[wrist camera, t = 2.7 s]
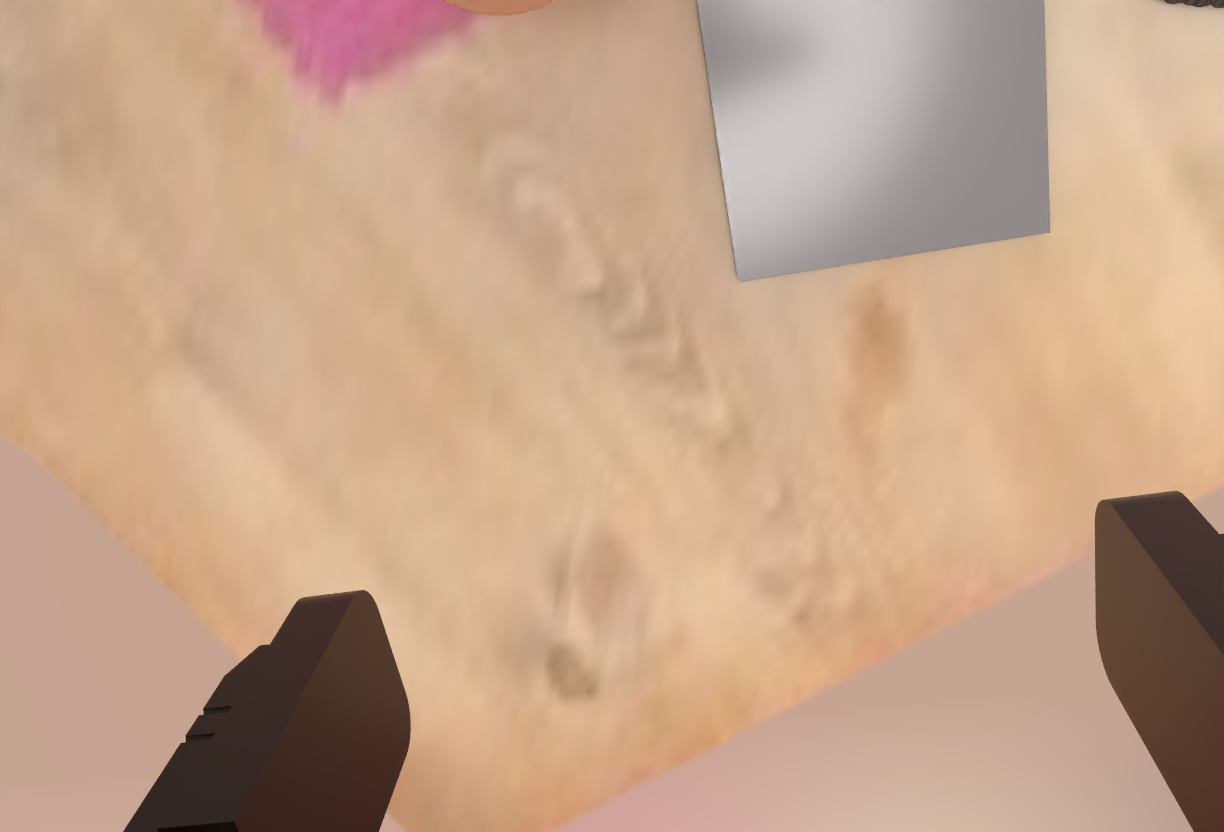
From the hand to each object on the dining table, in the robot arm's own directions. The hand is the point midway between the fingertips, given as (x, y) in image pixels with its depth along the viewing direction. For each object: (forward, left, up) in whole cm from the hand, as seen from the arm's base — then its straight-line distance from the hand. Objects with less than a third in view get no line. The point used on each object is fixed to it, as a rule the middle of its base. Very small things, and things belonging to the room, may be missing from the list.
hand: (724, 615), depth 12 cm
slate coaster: (+6, +1, -28) cm, 29 cm away
